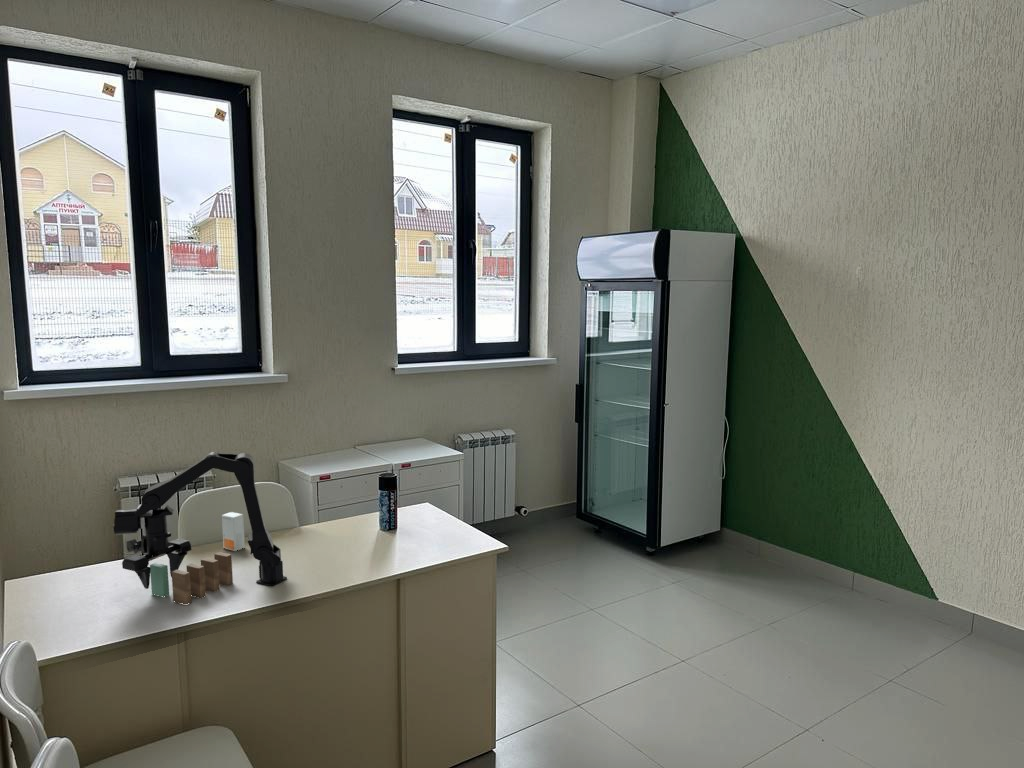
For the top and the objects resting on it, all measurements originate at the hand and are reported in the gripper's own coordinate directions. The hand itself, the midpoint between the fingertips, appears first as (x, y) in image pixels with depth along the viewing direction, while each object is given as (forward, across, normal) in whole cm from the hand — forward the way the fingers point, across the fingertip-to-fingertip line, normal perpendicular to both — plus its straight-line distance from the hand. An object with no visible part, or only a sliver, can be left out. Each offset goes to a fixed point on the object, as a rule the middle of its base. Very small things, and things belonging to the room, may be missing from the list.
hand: (160, 582), depth 203 cm
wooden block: (+4, -14, +10) cm, 18 cm away
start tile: (+4, 0, 0) cm, 4 cm away
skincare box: (+4, -37, -10) cm, 39 cm away
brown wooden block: (+4, +1, +10) cm, 11 cm away
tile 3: (+4, -9, +10) cm, 14 cm away
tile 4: (+4, -4, +10) cm, 11 cm away
